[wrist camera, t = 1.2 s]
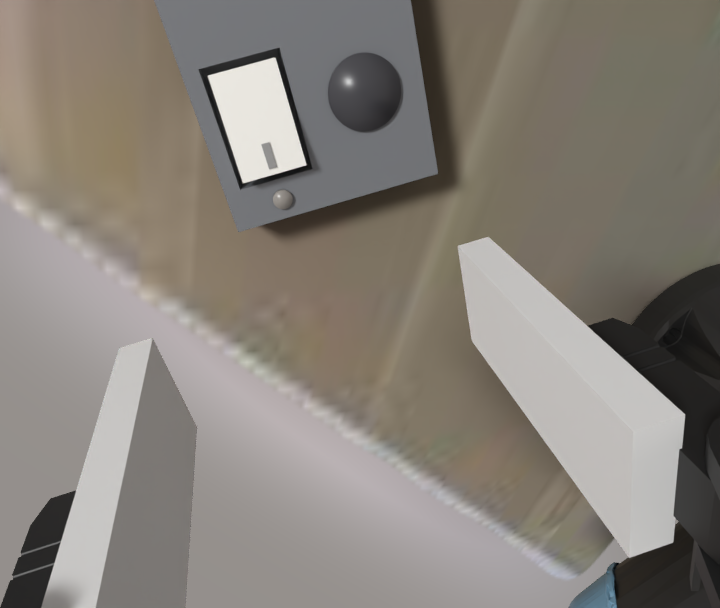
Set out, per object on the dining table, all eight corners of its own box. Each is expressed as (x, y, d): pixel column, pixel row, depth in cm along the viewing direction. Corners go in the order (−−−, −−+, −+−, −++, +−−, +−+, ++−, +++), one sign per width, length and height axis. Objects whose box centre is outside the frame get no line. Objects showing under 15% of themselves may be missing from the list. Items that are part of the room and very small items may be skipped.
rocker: (305, 164, 29) (306, 165, 28) (243, 181, 28) (242, 183, 27) (275, 60, 27) (275, 57, 26) (209, 77, 27) (207, 75, 26)
